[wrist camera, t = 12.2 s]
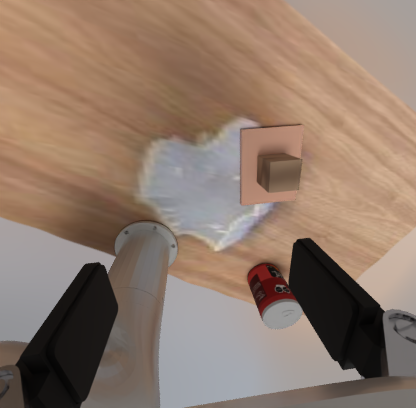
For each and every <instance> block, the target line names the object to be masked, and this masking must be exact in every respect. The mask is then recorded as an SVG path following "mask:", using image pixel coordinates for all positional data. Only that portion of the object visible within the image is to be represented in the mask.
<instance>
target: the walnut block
mask: <svg viewBox="0 0 416 408" xmlns="http://www.w3.org/2000/svg"><path fill="white" fill-rule="evenodd" d="M301 166H302V159H300V158H297V157H294V156H291V155H289V154H286V153H281V154H269V155H258V157H257V183H258V184H259V185H260V186H261V187H263V188H264V189H265V190H266V191H267V192H268V193H275V192H284V191H294V190H299V183H300V174H301Z"/></svg>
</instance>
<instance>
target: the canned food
mask: <svg viewBox="0 0 416 408" xmlns="http://www.w3.org/2000/svg"><path fill="white" fill-rule="evenodd" d="M248 284H249V286H250V289H251V292H252V294H253V297H254V300H255V302H256V305H257V308H258V310H259V313H260V316H261V318H262V321H263V323H264V324H265V326H267V327H269V328H271V329H283V328H286V327H289V326H291V325H293V324H294V323H296V322H297V321H298V320H299V319H300V317H301V316H302V308H301V307H300V305H299V303H298V302H297V300H296V298H295V297H294V295H293V294H292V292H291V290H290V288H289V286H288V284H287V282H286V281H285V279H284V278H283V276H282V274H281V273H280V271H279V269H278V268H276V267H275V266H274V265H272V264H260V265H258V266H256V267H254V268H253V269H252V270H251V271H250V272H249V274H248Z"/></svg>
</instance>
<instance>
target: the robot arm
mask: <svg viewBox="0 0 416 408" xmlns="http://www.w3.org/2000/svg"><path fill="white" fill-rule="evenodd" d="M155 226H156V227H155ZM114 249H115V254H116V259H115V260H114V262H113V264H112V266H111V268H110V270H109V272H108V274H107V271H106V269H105V266H104V265H101V264H100V263H99V262H97V263H88V264H85V265H84V266H83V267H82V269H81V270H80V272H79V273H78V274H77V276H76V277H75V279H74V280H73V282H72V283H71V284H70V286H69V287H68V289H67V290H66V292H65V293H64V294H63V296H62V297H61V299H60V300H59V301H58V303H57V304H56V306H55V307H54V309H53V310H52V312H51V313H50V314H49V316H48V317H47V319H46V320H45V321H44V323H43V324H42V326H41V327H40V329H39V330H38V331H37V333H36V334H35V336H34V337H33V339H32V340H31V341H30V343H26V342H18V341H0V408H160V392H159V371H158V370H159V368H158V358H159V356H158V355H159V339H160V329H161V321H162V313H163V305H164V297H165V289H166V281H167V273H168V267H169V266H171V264H172V263H173V262H174V260H175V259H176V256H177V252H178V244H177V240H176V238H175V236H174V234H173V233H172V232H171V231H170V230H169V229H168V228H167V227H165V226H163V225H161V224H159V223H156V222H152V221H139V222H135V223H132V224H130V225H128V226H126V227H125V228H124V229H123V230H122V231H121V232H120V233H119V235H118V237H117V238H116V241H115V248H114ZM289 288H290V290H291V292H292V294H293V295H294V297H295V298H296V300H297V302H298V303H299V305H300V307H301V308H302V310H303V312H304V313H305V315H306V316H307V318H308V320H309V321H310V323H311V325H312V326H313V328H314V329H315V331H316V333H317V335H318V336H319V338H320V339H321V341H322V342H323V344H324V346H325V348H326V349H327V351H328V352H329V354H330V356H331V357H332V359H333V360H334V361H338V363H339V364H340V366H341V368H342V369H343V370H346V369H353V368H356V370H357V371H358V373H359V374H360V375H361V380H354V381H346V382H340V383H332V384H326V385H319V386H314V387H307V388H301V389H295V390H289V391H283V392H276V393H270V394H263V395H258V396H251V397H246V398H240V399H233V400H227V401H221V402H215V403H209V404H203V405H198V406H192V407H186V408H416V316H415V315H413V314H411V313H408V312H405V311H401V310H394V309H392V310H387V311H386V312H385V311H384V310H383V309H382V308H381V307H380V305H379V304H378V303H377V302H376V301H375V300H374V299H373V298H372V297H371V296H370V295H369V294H368V293H367V292H366V291H365V290H364V289H363V288H362V287H361V286H359V284H357V283H356V282H355V281H354V280H353V279H352V278H351V277H350V276H349V275H348V274H347V273H346V272H345V271H344V270H343V269H342V268H341V267H340V266H339V265H338V264H337V263H336V262H335V261H334V260H333V259H331V258H330V257H329V256H328V255H327V254H326V253H325V252H324V251H323V250H322V249H321V248H320V247H319V246H318V245H317V244H316V243H315V242H314V241H313V240H312V239H310V238H304V239H298V240H297V241H296V242H295V243H294V244H293V250H292V258H291V266H290V274H289Z"/></svg>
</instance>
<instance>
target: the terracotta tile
mask: <svg viewBox="0 0 416 408" xmlns="http://www.w3.org/2000/svg"><path fill="white" fill-rule="evenodd" d="M303 132H304V125H293V126H280V127H267V128H254V129H241V130H240V204H241V205H251V204H260V203H270V202H280V201H290V200H296V191H297V190H294V191H284V192H275V193H268V192H267V191H266V190H265V189H264V188H263V187H261V186H260V185H259V184H258V183H257V157H258V155H269V154H281V153H286V154H289V155H291V156H294V157H297V158H300V157H301V149H302V140H303Z"/></svg>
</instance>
